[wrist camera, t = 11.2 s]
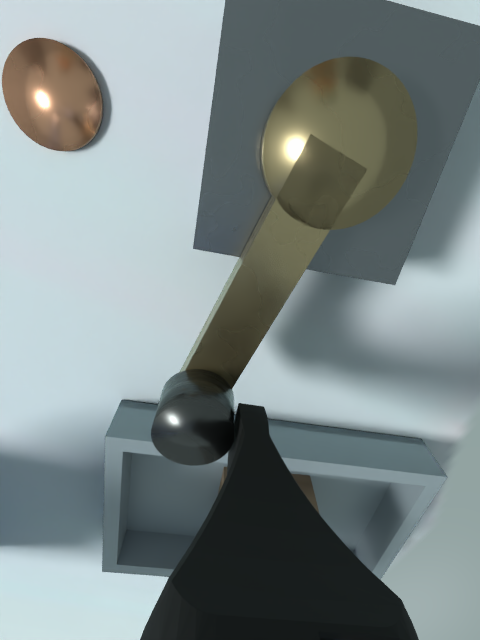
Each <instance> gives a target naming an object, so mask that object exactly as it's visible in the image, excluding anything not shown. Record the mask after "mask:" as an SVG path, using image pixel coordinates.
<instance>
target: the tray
mask: <svg viewBox="0 0 480 640" xmlns="http://www.w3.org/2000/svg"><path fill="white" fill-rule="evenodd" d="M157 408H158V405H157V404H149V403H142V402H134V401H126V400H121V402H120V405H119V407H118V409H117V411H116V414H115V416H114V418H113V420H112V422H111V425H110V427H109V429H108V431H107V434H106V436H105V468H104V514H103V560H102V572H114V573H127V574H140V575H153V576H165V577H170V575H171V574H172V572H173V571H174V569H175V568H176V566H177V565H178V563H179V562H180V560H181V559H182V557H183V555H184V554H185V552H186V551H187V549H188V548H189V546H190V545H191V543H192V541H193V540H194V538H195V536H196V534H197V533H198V531H199V529H200V528H201V526H202V524H203V522H204V521H205V519H206V517H207V515H208V513H209V512H210V510H211V508H212V506H213V504H214V502H215V500H216V498H217V496H218V491H219V487H220V482H221V477H222V473H223V468H224V467H227V464H228V452H227V453H226V454H225V455H224V456H223V457H222V458H220V459H219V460H217V461H215V462H212V463H209V464H205V465H198V466H190V465H183V464H179V463H176V462H173V461H171V460H169V459H167V458H166V457H164V456H163V455H162V454H160V453H159V451H158V450H157V449H156V448H155V446H154V444H153V442H152V439H151V428H152V425H153V421H154V418H155V414H156V411H157ZM235 417H236V415H234V421H235ZM268 424H269V435H270V437H271V439H272V441H273V443H274V444H275V446H276V448H277V450H278V452H279V454H280V456H281V457H282V459H283V461H284V463H285V464H286V466H287V468H288V469H289V471H290V473H291V474H301V475H310V477H311V481H312V485H313V489H314V493H315V497H316V501H317V506H318V510H319V514H320V516H321V517H322V518H323V519H324V521H325V522H326V523H327V524H328V525H329V526H330V528H331V529H332V530H333V531H334V532H335V533H336V535H337V536H338V537H339V538H340V539H341V540H342V542H343V543H344V544H345V545H346V546H347V547H348V548H349V549H350V550H351V551H352V552H353V553H354V554H355V556H356V557H357V558H358V559H359V560H360V561H361V562H362V563H363V564H364V565H365V566H366V567H367V568H368V569H369V570H370V571H371V572H372V573H373V574H374V575H375V576H377V577H378V578H379V579H381V578H382V576H383V575H384V573H385V572H386V570H387V569H388V567H389V566H390V564H391V563H392V561H393V560H394V558H395V556H396V555H397V553H398V552H399V550H400V549H401V547H402V546H403V544H404V543H405V541H406V540H407V538H408V537H409V535H410V534H411V532H412V531H413V529H414V527H415V526H416V524H417V523H418V521H419V520H420V518H421V517H422V515H423V514H424V512H425V511H426V509H427V508H428V506H429V505H430V503H431V501H432V500H433V498H434V497H435V495H436V494H437V492H438V491H439V489H440V488H441V486H442V485H443V483H444V482H445V480H446V479H447V476H446V474H445V473H444V471H443V470H442V468H441V467H440V465H439V464H438V462H437V461H436V459H435V458H434V457H433V455H432V454H431V452H430V451H429V449H428V448H427V446H426V445H425V443H424V442H423V440H422V439H418V438H410V437H402V436H395V435H387V434H379V433H372V432H364V431H356V430H349V429H341V428H333V427H326V426H318V425H310V424H303V423H295V422H287V421H280V420H272V419H268Z"/></svg>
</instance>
